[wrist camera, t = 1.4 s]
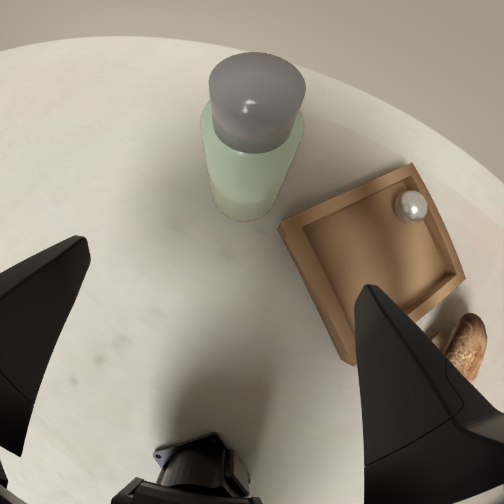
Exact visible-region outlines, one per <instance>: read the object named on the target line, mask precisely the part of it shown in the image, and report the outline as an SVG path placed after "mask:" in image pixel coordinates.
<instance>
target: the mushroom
mask: <svg viewBox="0 0 504 504" xmlns="http://www.w3.org/2000/svg"><path fill="white" fill-rule="evenodd" d="M431 341H432V342H433V343H434V344H435V345H436V346H437V347H438V348H439V349H440V350H441V351H442V353H443V354H444V355H445V357H447V358H448V359H449V360H450V361H451V363H452V364H453V365H454V366H455V367H456V368H457V369H458V370H459V371H460V373H461V374H462V375H463V376H464V377H465V378H466V379H467V380H468V381H469V382H470V383H471V382H472V381H473V380H474V379H475V377H476V375H477V373H478V370H479V367H480V365H481V362H482V359H483V356H484V353H485V350H486V345H487V334H486V330H485V325H484V323H483V321H482V320H481V318H480V317H479V316H477V315H476V314H473V313H466V314H465V315H463V316H462V317H461V319H460V321H459V323H458V324H457V325H456V327H455V328H454V329H453V330H452V331H450V332H448V333H447V332H440V333H438V334H437V335H436V336H435V337H433V338H432V340H431Z"/></svg>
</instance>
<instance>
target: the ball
mask: <svg viewBox="0 0 504 504" xmlns="http://www.w3.org/2000/svg"><path fill="white" fill-rule="evenodd" d="M395 211H396V214H397V216H398V218H399V219H400V220H401V221H402V222H404V223H406V224H409V225H415V224H418V223H420V222H421V221H422V220H423V219H424V218H425V216H426V214H427V202H426V200H425V198H424V197H423V195H422V194H420V193H419V192H417V191H415V190H406V191H404V192H402V193H401V194H400V195H399V196H398V197H397V199H396V202H395Z"/></svg>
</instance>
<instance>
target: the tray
mask: <svg viewBox="0 0 504 504" xmlns="http://www.w3.org/2000/svg"><path fill="white" fill-rule="evenodd" d="M406 190H415V191H417V192H419V193H420V194H422V195H423V197H424V198H425V200H426V202H427V214H426V216H425V218H424V219H423V220H422V221H421V222H420V223H418V224H415V225H409V224H406V223H404V222H402V221H401V220H400V219H399V218H398V216H397V214H396V211H395V202H396V199H397V197H398V196H399V195H400V194H401V193H402V192H404V191H406ZM278 231H279V233H280V235H281V237H282V239H283V241H284V243H285V245H286V247H287V249H288V251H289V252H290V254H291V256H292V258H293V260H294V262H295V264H296V266H297V268H298V270H299V272H300V274H301V276H302V279H303V281H304V283H305V285H306V287H307V289H308V291H309V293H310V295H311V297H312V299H313V301H314V303H315V305H316V307H317V309H318V311H319V313H320V316H321V318H322V320H323V322H324V324H325V326H326V328H327V330H328V332H329V335H330V337H331V339H332V341H333V343H334V345H335V347H336V350H337V352H338V354H339V356H340V358H341V360H342V361H344V362H346V363H348V364H350V365H352V366H355V365H356V364H357V359H356V350H355V323H354V304H355V301H356V299H357V297H358V296H359V294H360V292H361V290H362V288H363V286H364V285H365V284H374V285H377V286H379V287H380V288H381V289H382V290H383V291H384V292H385V293H386V294H387V295H388V296H389V297H390V298H391V299H392V300H393V301H394V302H395V303H396V304H397V305H398V306H399V307H400V308H401V309H402V310H403V311H404V312H405V313H406V314H407V315H408V316H409V317H410V318H411V319H412V320H413V321H414V323H415V322H417V321H418V320H419V319H420V318H422V317H423V316H424V315H425V314H427V313H428V312H429V311H430V310H431V309H433V308H434V307H435V306H436V305H437V304H438V303H440V302H441V301H442V300H443V299H444V298H445V297H446V296H447V295H449V294H450V293H451V292H452V291H453V290H454V289H455V288H456V287H457V286H458V285H459V284H461V283H462V282H463V281H464V280H465V279H466V278H465V275H464V272H463V269H462V266H461V264H460V261H459V258H458V256H457V253H456V251H455V248H454V246H453V243H452V241H451V238H450V236H449V234H448V231H447V229H446V227H445V225H444V222H443V220H442V218H441V216H440V214H439V212H438V210H437V208H436V205H435V203H434V201H433V199H432V198H431V196H430V194H429V192H428V190H427V188H426V186H425V184H424V182H423V181H422V179H421V177H420V175H419V173H418V172H417V170H416V168H415V166H414V165H413V163H410V164H408V165H406V166H403V167H401V168H399V169H397V170H394V171H392V172H390V173H387V174H385V175H383V176H381V177H378V178H376V179H374V180H372V181H369V182H367V183H365V184H363V185H360V186H358V187H356V188H354V189H351V190H349V191H347V192H345V193H342V194H340V195H338V196H336V197H334V198H331V199H329V200H327V201H325V202H323V203H320V204H318V205H316V206H314V207H311V208H309V209H307V210H305V211H303V212H301V213H298V214H296V215H294V216H292V217H290V218H287V219H285V220H283V221H282V223H281V224H280V226H279V227H278Z"/></svg>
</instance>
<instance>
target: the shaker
mask: <svg viewBox="0 0 504 504" xmlns="http://www.w3.org/2000/svg"><path fill="white" fill-rule="evenodd" d="M305 90H306V86H305V81H304V78H303V77H302V75H301V73H300V72H299V71H298V70H297V69H296V67H294V66H293V65H292V64H291V63H289V62H288V61H286V60H284V59H282V58H280V57H277V56H274V55H271V54H266V53H258V52H249V53H241V54H237V55H233V56H231V57H228V58H226V59H225V60H223V61H221V62H220V63H219V64H218V65H217V66H216V67H215V68H214V69H213V70H212V72H211V74H210V77H209V91H210V101H209V102H208V103H207V104H206V106H205V108H204V110H203V112H202V115H201V121H200V126H201V133H202V139H203V145H204V150H205V156H206V162H207V168H208V173H209V179H210V184H211V190H212V195H213V199H214V202H215V205H216V206H217V208H218V209H219V211H220V212H221V213H222V214H224V215H225V216H226V217H228V218H230V219H233V220H236V221H241V222H248V221H253V220H256V219H259V218H261V217H262V216H264V215H265V214H266V213H267V212H268V211H269V210H270V209H271V207H272V206H273V204H274V201H275V199H276V197H277V194H278V192H279V190H280V188H281V185H282V183H283V181H284V178H285V176H286V174H287V171H288V169H289V167H290V165H291V162H292V160H293V158H294V155H295V153H296V151H297V148H298V146H299V144H300V142H301V139H302V137H303V132H304V122H303V118H302V115H301V113H300V111H299V109H300V106H301V103H302V101H303V98H304V95H305Z"/></svg>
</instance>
